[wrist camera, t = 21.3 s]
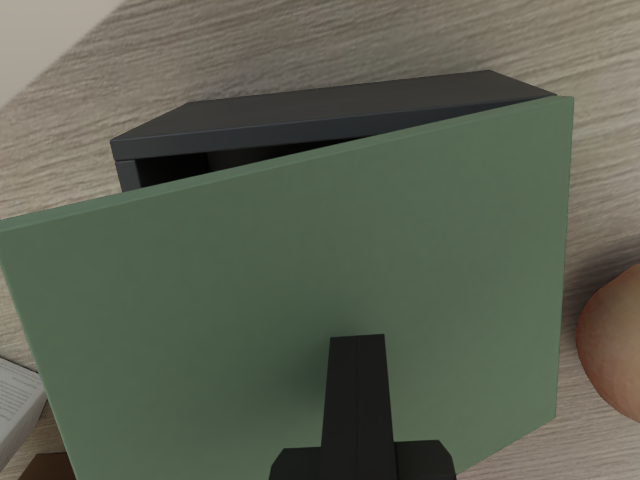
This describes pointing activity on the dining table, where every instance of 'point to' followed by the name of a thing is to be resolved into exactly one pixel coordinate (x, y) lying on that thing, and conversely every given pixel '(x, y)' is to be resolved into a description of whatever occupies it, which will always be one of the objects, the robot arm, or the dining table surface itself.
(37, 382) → the cosmetic box
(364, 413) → the robot arm
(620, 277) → the fruit
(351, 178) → the bin lid
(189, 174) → the bin
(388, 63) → the dining table surface
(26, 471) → the stand
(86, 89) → the dining table surface
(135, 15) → the dining table surface
